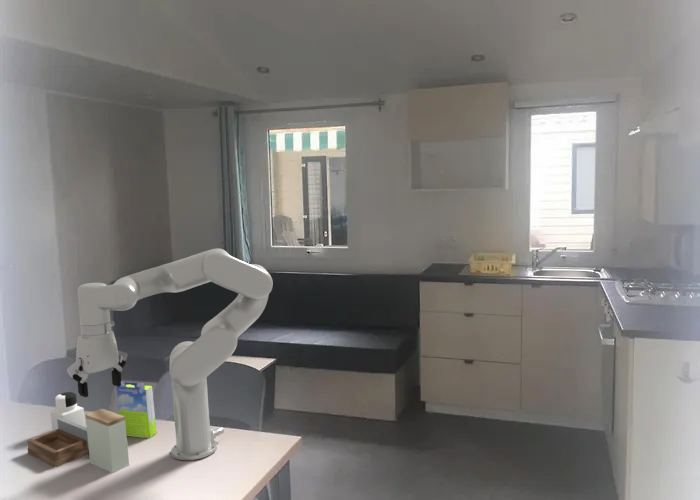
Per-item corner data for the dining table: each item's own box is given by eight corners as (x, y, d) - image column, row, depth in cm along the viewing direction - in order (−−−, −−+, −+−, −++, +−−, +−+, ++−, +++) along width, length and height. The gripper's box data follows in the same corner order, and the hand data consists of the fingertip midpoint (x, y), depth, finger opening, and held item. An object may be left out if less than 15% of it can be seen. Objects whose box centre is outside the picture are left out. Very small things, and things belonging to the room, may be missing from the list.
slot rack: (63, 439, 186) (61, 417, 185) (92, 452, 177) (90, 429, 176) (28, 453, 178) (25, 430, 177) (56, 467, 168) (53, 443, 167)
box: (157, 433, 188) (152, 379, 186) (149, 439, 184) (144, 383, 182) (127, 430, 191) (122, 377, 189) (119, 436, 187) (114, 381, 185)
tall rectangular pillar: (106, 455, 174) (102, 408, 173) (129, 465, 168) (124, 416, 166) (90, 462, 170) (85, 414, 169) (112, 472, 164) (108, 422, 162)
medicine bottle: (73, 424, 198) (70, 388, 196) (86, 429, 194) (82, 392, 192) (52, 432, 192) (48, 395, 191) (64, 437, 188) (60, 399, 186)
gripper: (116, 320, 173) (121, 379, 175) (57, 334, 160) (62, 397, 162) (132, 324, 169) (136, 384, 171) (72, 338, 155) (77, 403, 157)
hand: (100, 390), depth 166 cm, fingers open, 9 cm apart
